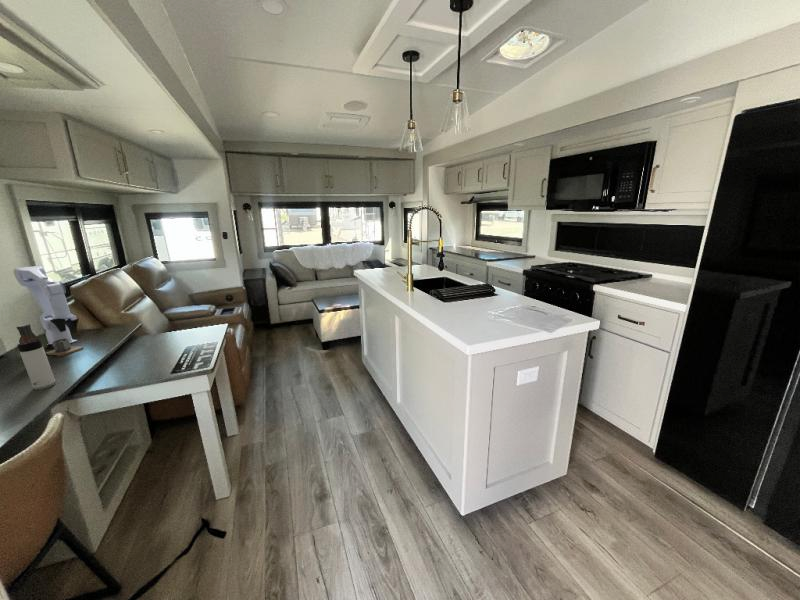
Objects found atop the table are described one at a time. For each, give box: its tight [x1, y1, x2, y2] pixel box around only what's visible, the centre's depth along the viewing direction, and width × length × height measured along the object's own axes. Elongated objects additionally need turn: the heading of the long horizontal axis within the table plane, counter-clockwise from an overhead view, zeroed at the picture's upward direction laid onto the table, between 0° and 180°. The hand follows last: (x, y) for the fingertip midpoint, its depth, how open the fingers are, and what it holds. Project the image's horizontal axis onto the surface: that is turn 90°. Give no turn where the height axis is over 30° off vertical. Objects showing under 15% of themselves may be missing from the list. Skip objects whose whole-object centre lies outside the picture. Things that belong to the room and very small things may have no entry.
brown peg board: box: [45, 341, 84, 357], centre depth 162 cm, size 12×9×6 cm
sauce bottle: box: [16, 323, 41, 344], centre depth 147 cm, size 6×6×20 cm
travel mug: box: [16, 339, 57, 391], centre depth 129 cm, size 6×7×20 cm
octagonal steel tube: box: [52, 339, 72, 352], centre depth 162 cm, size 6×6×5 cm
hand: (68, 331), depth 166 cm, fingers open, 7 cm apart
